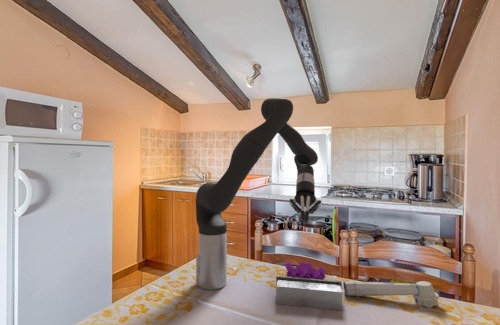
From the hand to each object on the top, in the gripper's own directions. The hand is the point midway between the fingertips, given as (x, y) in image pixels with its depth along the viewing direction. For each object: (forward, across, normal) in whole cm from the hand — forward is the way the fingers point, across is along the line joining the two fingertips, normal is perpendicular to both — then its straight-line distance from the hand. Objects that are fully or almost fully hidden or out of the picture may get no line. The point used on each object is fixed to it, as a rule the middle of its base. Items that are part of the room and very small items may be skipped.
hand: (304, 221), depth 106 cm
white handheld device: (+26, +25, +1) cm, 36 cm away
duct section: (+30, +1, -4) cm, 31 cm away
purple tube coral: (+22, 0, +4) cm, 23 cm away
